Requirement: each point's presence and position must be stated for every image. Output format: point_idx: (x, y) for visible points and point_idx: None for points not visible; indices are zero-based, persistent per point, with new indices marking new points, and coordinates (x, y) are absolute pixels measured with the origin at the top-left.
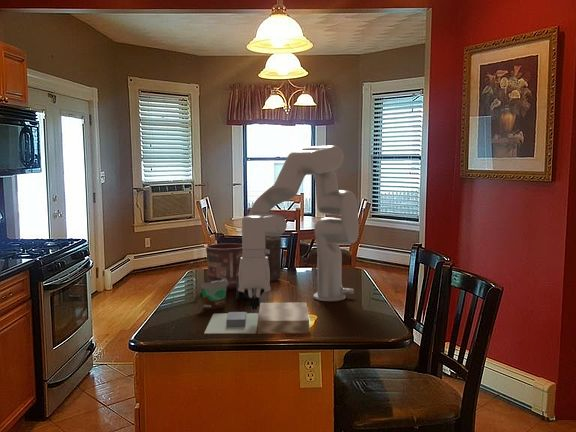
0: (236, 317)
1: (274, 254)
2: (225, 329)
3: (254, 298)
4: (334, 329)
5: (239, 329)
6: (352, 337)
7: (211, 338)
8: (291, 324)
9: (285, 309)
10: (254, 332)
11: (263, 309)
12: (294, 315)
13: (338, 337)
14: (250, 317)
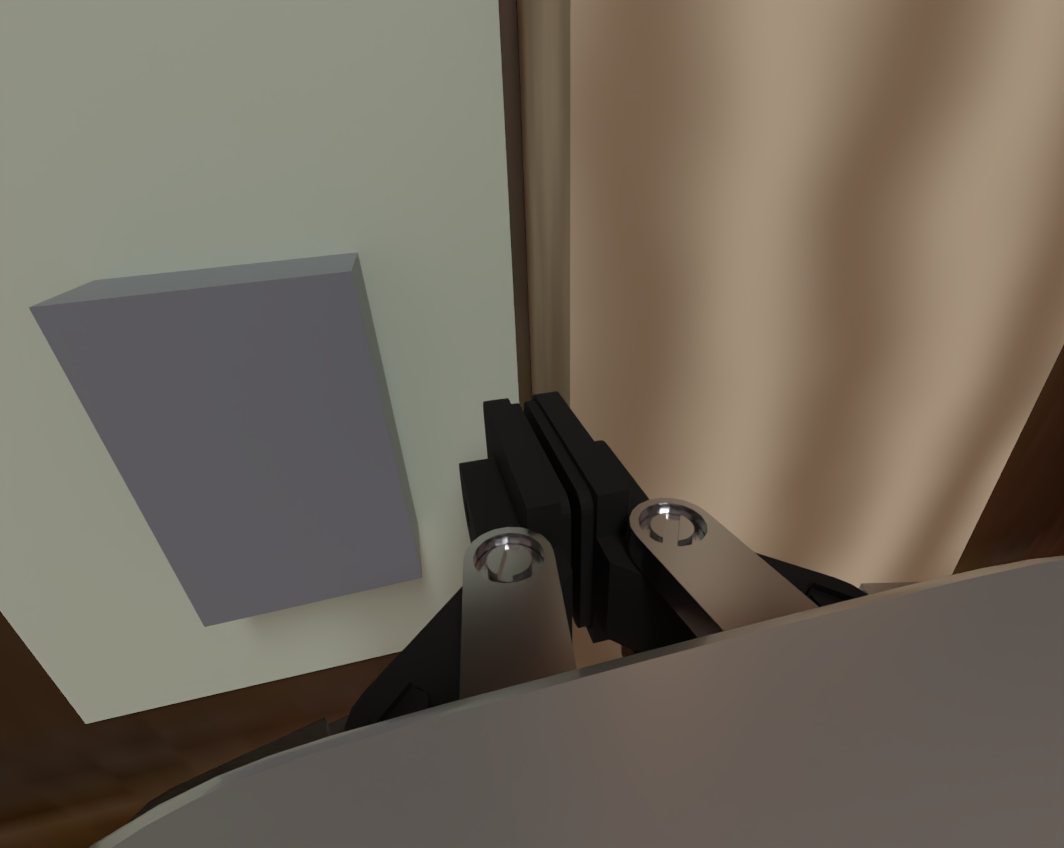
0: (298, 538)
1: None
2: None
3: (556, 486)
4: (1021, 450)
5: (382, 591)
6: (1024, 558)
7: (217, 759)
8: None
9: (883, 315)
10: None
11: (626, 337)
12: (890, 513)
13: (967, 571)
14: (396, 170)
